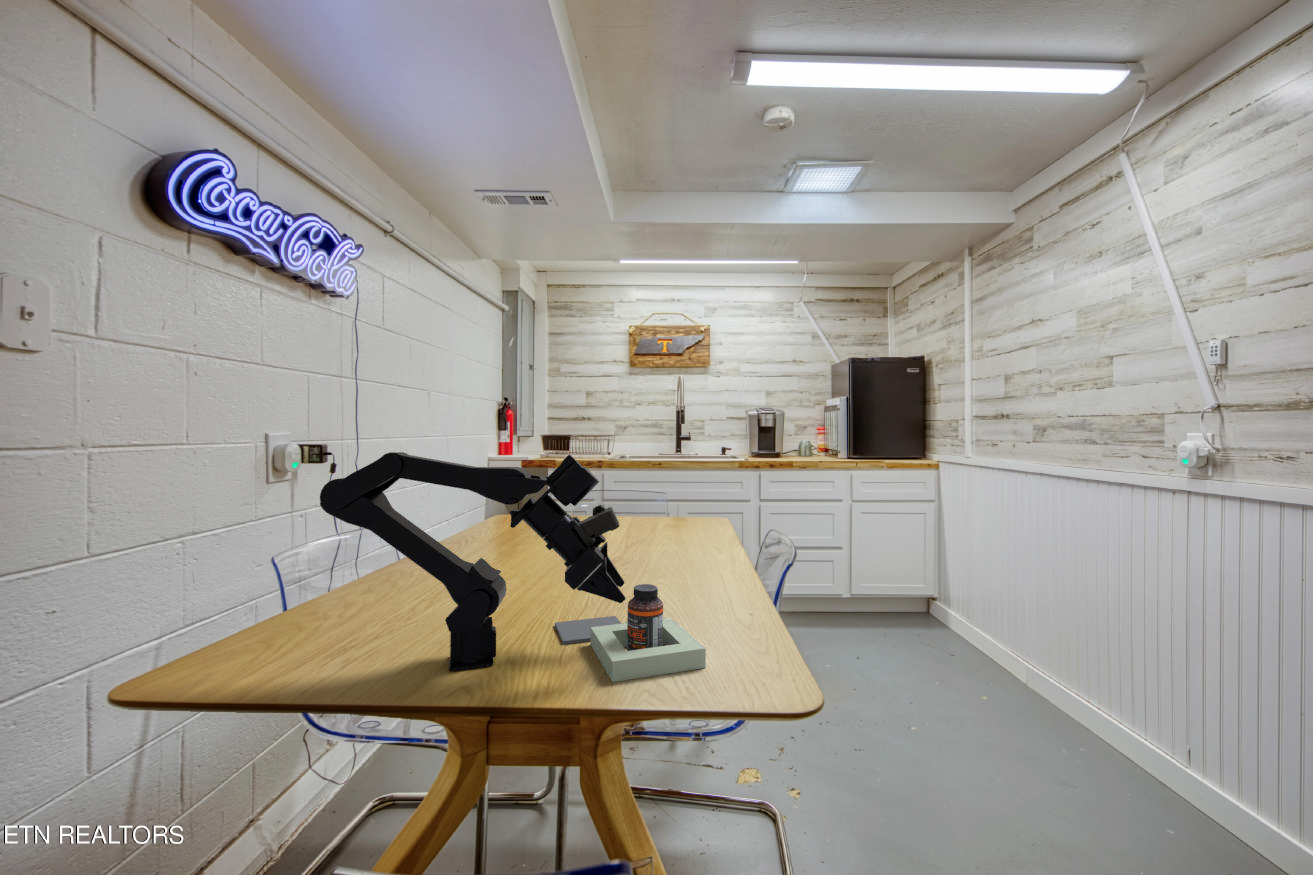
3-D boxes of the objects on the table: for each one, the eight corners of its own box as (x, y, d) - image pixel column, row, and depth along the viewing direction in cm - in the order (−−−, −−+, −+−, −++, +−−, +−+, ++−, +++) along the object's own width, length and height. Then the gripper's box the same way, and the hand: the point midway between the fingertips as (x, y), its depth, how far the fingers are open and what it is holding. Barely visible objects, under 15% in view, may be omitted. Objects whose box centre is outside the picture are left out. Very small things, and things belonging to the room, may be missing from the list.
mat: (563, 644, 89) (563, 641, 89) (554, 625, 98) (554, 622, 98) (629, 636, 93) (629, 632, 93) (615, 618, 102) (615, 615, 102)
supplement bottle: (620, 658, 83) (620, 588, 83) (638, 645, 88) (638, 580, 88) (652, 666, 80) (652, 593, 80) (669, 652, 85) (669, 584, 86)
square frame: (612, 682, 75) (612, 661, 75) (590, 644, 89) (590, 627, 89) (705, 667, 80) (705, 648, 80) (670, 634, 94) (670, 617, 94)
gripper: (587, 496, 75) (662, 570, 75) (593, 486, 93) (653, 546, 94) (532, 551, 74) (609, 626, 75) (549, 530, 92) (610, 590, 93)
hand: (623, 592), depth 84 cm, fingers open, 9 cm apart
